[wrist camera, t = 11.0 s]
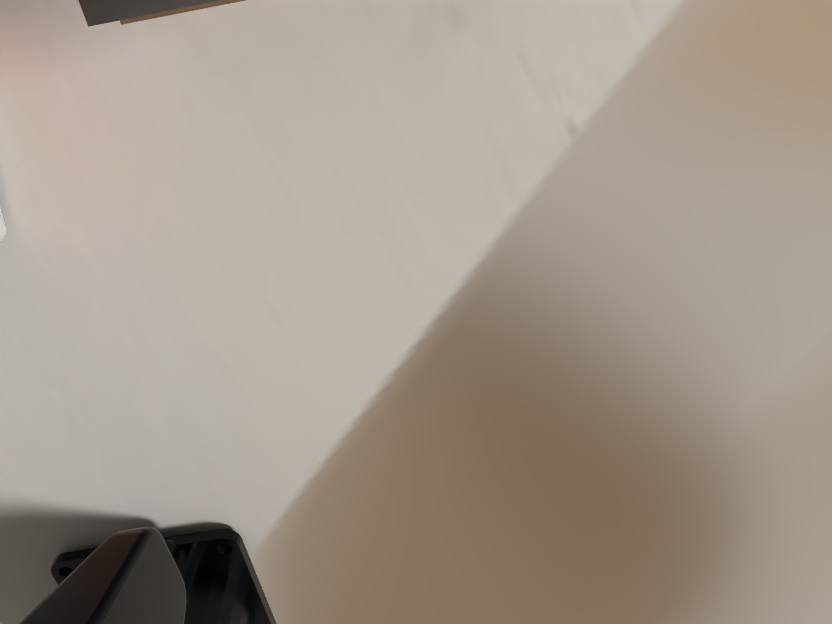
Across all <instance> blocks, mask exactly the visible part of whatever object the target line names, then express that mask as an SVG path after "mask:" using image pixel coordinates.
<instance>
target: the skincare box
mask: <svg viewBox="0 0 832 624" xmlns="http://www.w3.org/2000/svg"><path fill="white" fill-rule="evenodd" d="M5 235H6V227H5V223H4V219H3V215H2V212H1V208H0V241H1V240H2V239H3V238H4V237H5Z"/></svg>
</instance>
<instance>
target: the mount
mask: <svg viewBox="0 0 832 624" xmlns="http://www.w3.org/2000/svg"><path fill="white" fill-rule="evenodd" d="M239 1H245V0H79V3H80V5H81V8H82V11H83V13H84V16H85V19H86V21H87V24H88V26H93V25H98V24H103V23H108V22H113V21H119V20H120V23H121V25H122V24H127V23H132V22H137V21H142V20H147V19H152V18H157V17H163V16H168V15H173V14H178V13H183V12H188V11H193V10H198V9H204V8H209V7H214V6H219V5H224V4H229V3H234V2H239Z"/></svg>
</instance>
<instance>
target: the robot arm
mask: <svg viewBox="0 0 832 624" xmlns="http://www.w3.org/2000/svg"><path fill="white" fill-rule="evenodd" d="M224 544H228V545H224ZM51 572H52V575H53V577H54V578H55V580H56V582H57V583H58V585H59V586H58V587H56V588H55V589H54V590H53V591H52V592H51V593H50V594H49V595H48V596H47V597H46V598H45V599H44V600H43V601H42V602H41V603H40V604H39V605H38V606H37V607H36V608H35V609H34V610H33V611H32V612H31V613H30V614H29V615H28V616H27V617H26V618H25V619H24V620H23V621H21V622H20V623H19V624H276V622H275V619H274V617H273V614H272V612H271V609H270V607H269V604H268V602H267V600H266V597H265V595H264V592H263V590H262V587H261V585H260V582H259V580H258V578H257V575H256V572H255V570H254V567H253V565H252V562H251V560H250V558H249V555H248V553H247V550H246V548H245V545H244V543H243V540H242V538H241V536H240V535H239V534H238V533H237V532H235V531H232V530H229V529H222V530H215V531H208V532H202V533H195V534H188V535H181V536H175V537H168V538H163V537H162V535H161V533H160V532H159V531H158V530H157V529H155V528H154V527H142V528H135V529H129V530H122V531H118V532H115V533H113V534H112V535H111V536H109V537H108V538H107V539H106V540H105V541H104V542H103V543H102V544H101V545H100V546H99V547H98V548H94V549H87V550H80V551H73V552H67V553H63V554H60V555H59V556H57V558H56V560H55V562H54V564H53V565H52V568H51Z"/></svg>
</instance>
